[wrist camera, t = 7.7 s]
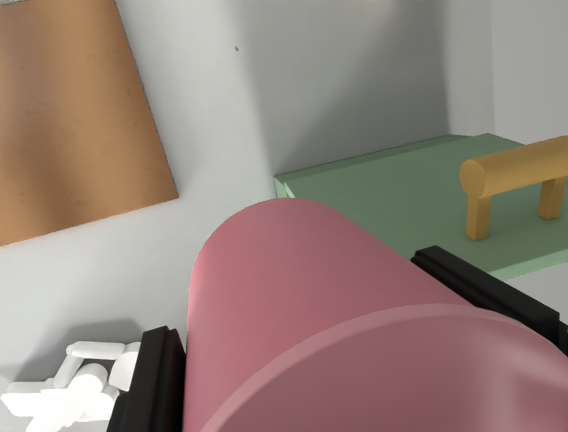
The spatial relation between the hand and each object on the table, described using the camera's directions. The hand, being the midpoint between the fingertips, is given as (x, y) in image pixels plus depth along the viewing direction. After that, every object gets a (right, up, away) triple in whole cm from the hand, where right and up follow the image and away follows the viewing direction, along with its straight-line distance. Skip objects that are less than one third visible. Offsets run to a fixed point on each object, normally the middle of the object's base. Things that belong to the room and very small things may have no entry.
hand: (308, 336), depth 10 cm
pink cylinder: (-1, +1, +3) cm, 3 cm away
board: (-19, +10, +19) cm, 28 cm away
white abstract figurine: (-18, -12, +25) cm, 33 cm away
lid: (+9, +4, +13) cm, 17 cm away
